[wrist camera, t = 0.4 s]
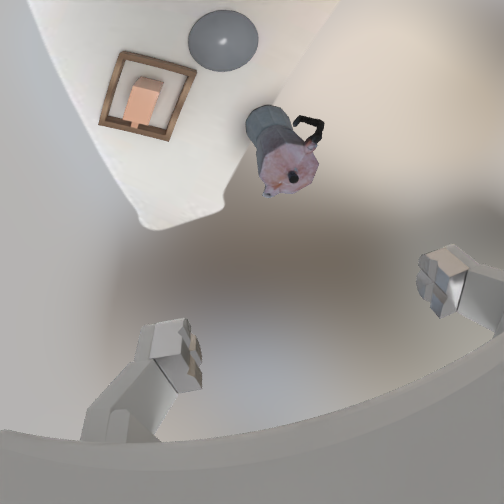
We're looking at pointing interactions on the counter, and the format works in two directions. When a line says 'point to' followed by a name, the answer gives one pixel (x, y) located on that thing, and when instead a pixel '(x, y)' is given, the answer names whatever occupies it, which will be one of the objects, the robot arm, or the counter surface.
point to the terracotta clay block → (142, 101)
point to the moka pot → (283, 150)
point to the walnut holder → (142, 128)
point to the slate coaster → (223, 40)
